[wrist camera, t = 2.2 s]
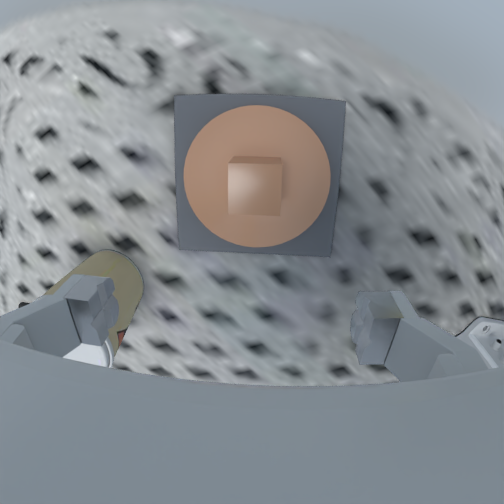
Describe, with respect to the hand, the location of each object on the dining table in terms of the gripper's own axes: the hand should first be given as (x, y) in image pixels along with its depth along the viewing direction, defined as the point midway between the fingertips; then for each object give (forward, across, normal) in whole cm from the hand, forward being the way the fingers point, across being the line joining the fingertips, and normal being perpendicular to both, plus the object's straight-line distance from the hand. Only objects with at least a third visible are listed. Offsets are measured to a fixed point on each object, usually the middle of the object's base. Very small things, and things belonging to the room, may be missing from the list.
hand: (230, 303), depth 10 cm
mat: (+20, 0, 0) cm, 20 cm away
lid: (+20, 0, 0) cm, 20 cm away
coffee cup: (+20, -16, -12) cm, 29 cm away
